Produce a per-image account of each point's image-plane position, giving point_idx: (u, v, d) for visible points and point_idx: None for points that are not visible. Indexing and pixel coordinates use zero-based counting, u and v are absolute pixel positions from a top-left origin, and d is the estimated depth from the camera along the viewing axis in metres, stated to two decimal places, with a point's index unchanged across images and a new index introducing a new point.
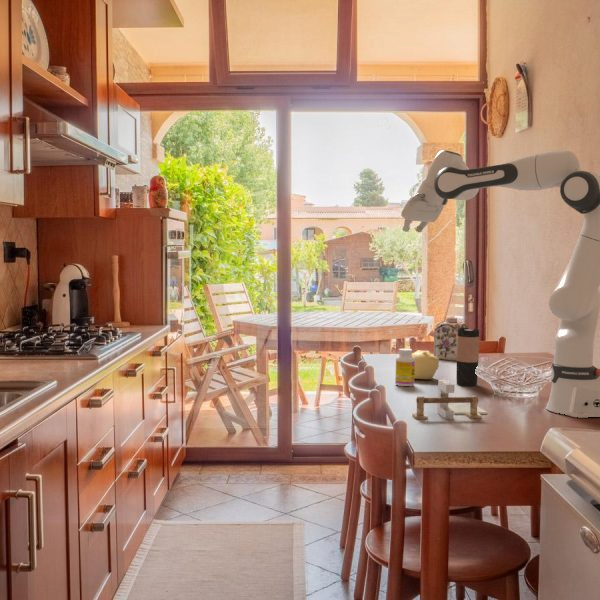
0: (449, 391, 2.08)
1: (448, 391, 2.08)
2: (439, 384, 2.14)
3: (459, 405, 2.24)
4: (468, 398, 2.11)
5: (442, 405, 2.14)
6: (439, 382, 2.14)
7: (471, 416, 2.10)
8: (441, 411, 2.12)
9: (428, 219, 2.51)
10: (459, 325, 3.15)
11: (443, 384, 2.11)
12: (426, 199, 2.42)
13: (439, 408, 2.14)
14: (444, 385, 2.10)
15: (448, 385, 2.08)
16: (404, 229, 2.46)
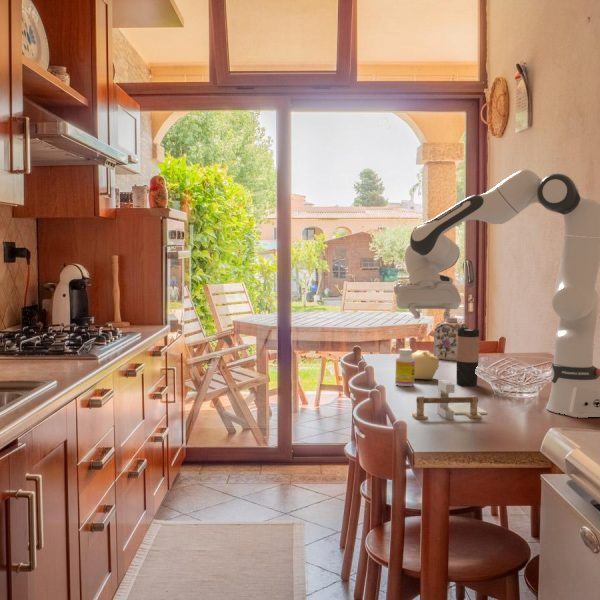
0: (449, 391, 2.08)
1: (448, 391, 2.08)
2: (439, 384, 2.14)
3: (459, 405, 2.24)
4: (468, 398, 2.11)
5: (442, 405, 2.14)
6: (439, 382, 2.14)
7: (471, 416, 2.10)
8: (441, 411, 2.12)
9: (442, 299, 2.28)
10: (459, 325, 3.15)
11: (443, 384, 2.11)
12: (413, 283, 2.32)
13: (439, 408, 2.14)
14: (444, 385, 2.10)
15: (448, 385, 2.08)
16: (415, 316, 2.25)
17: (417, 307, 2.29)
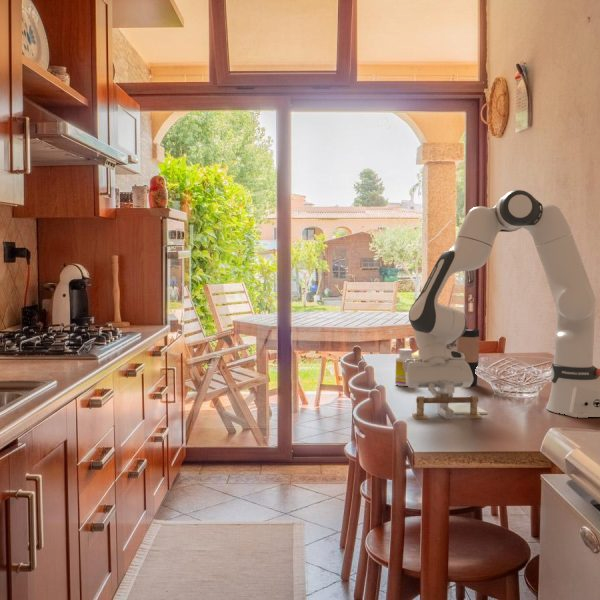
0: (449, 391, 2.08)
1: (448, 391, 2.08)
2: (439, 384, 2.14)
3: (459, 405, 2.24)
4: (468, 398, 2.11)
5: (442, 405, 2.14)
6: (439, 382, 2.14)
7: (471, 416, 2.10)
8: (441, 411, 2.12)
9: (453, 378, 2.17)
10: None
11: (443, 384, 2.11)
12: (423, 359, 2.21)
13: (439, 408, 2.14)
14: (444, 385, 2.10)
15: (448, 385, 2.08)
16: (434, 396, 2.14)
17: (427, 386, 2.18)
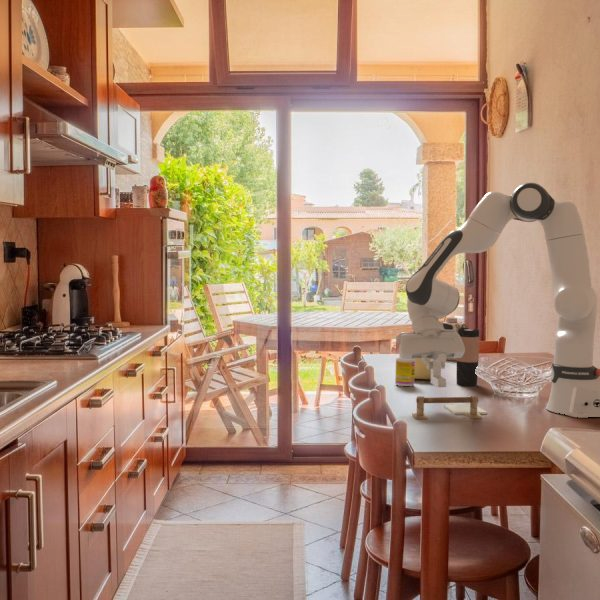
0: (441, 360, 2.17)
1: (440, 360, 2.16)
2: (432, 354, 2.23)
3: (459, 405, 2.24)
4: (468, 398, 2.11)
5: (435, 375, 2.22)
6: (432, 353, 2.23)
7: (471, 416, 2.10)
8: (434, 380, 2.21)
9: (446, 349, 2.25)
10: (459, 325, 3.15)
11: (435, 354, 2.19)
12: (416, 332, 2.29)
13: (432, 378, 2.22)
14: (436, 355, 2.18)
15: (440, 354, 2.16)
16: (427, 366, 2.22)
17: (420, 357, 2.26)
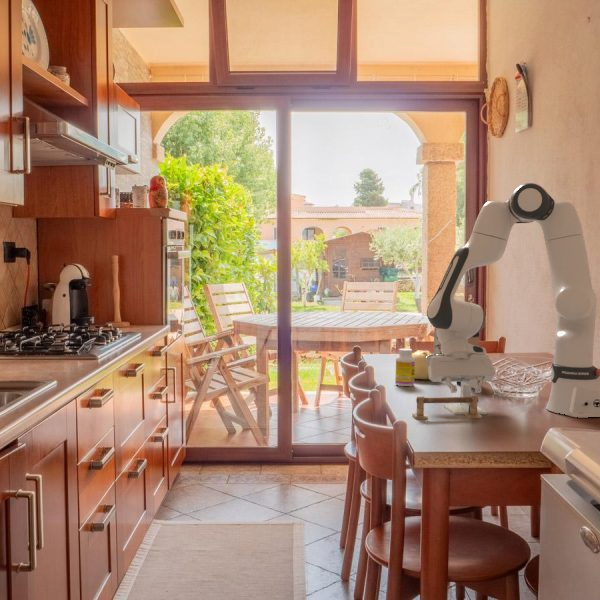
0: (472, 386, 2.13)
1: (471, 386, 2.13)
2: (462, 379, 2.19)
3: (459, 405, 2.24)
4: (468, 398, 2.11)
5: None
6: (462, 377, 2.19)
7: (471, 416, 2.10)
8: (464, 405, 2.17)
9: (476, 372, 2.22)
10: None
11: (466, 379, 2.16)
12: (445, 354, 2.26)
13: (462, 403, 2.19)
14: (467, 380, 2.15)
15: (471, 380, 2.13)
16: (451, 390, 2.19)
17: None
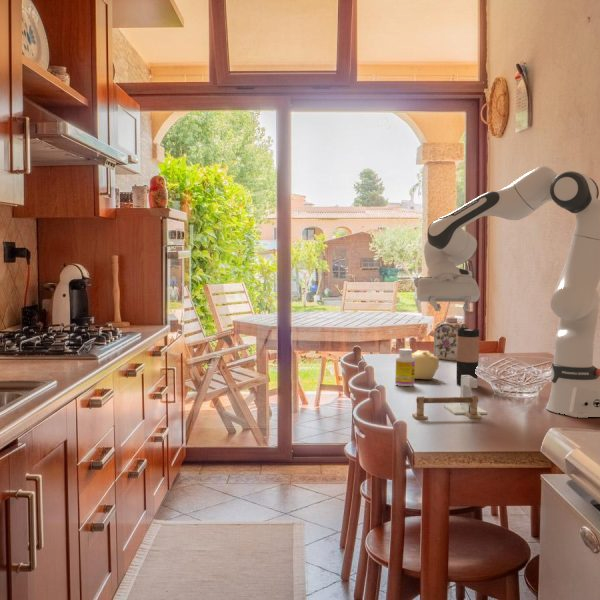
0: (472, 386, 2.13)
1: (471, 386, 2.13)
2: (462, 379, 2.19)
3: (459, 405, 2.24)
4: (468, 398, 2.11)
5: None
6: (462, 377, 2.19)
7: (471, 416, 2.10)
8: (464, 405, 2.17)
9: (461, 292, 2.32)
10: (459, 325, 3.15)
11: (466, 379, 2.16)
12: (433, 276, 2.36)
13: (462, 403, 2.19)
14: (467, 380, 2.15)
15: (471, 380, 2.13)
16: (435, 308, 2.29)
17: (437, 300, 2.33)
